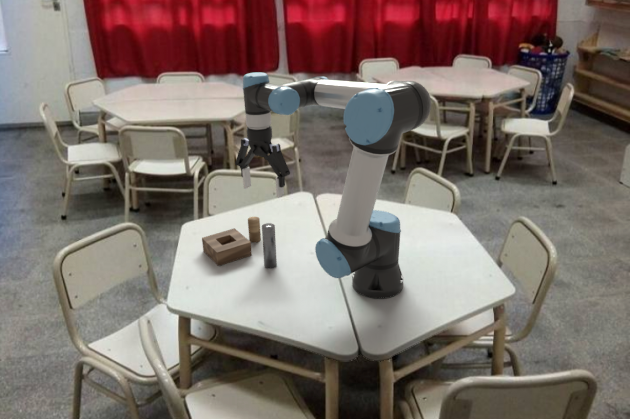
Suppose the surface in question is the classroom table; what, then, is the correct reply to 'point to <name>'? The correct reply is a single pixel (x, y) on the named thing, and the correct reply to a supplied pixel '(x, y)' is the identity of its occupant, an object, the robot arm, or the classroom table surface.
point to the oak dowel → (254, 229)
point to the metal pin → (269, 245)
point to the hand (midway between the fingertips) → (263, 191)
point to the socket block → (226, 246)
